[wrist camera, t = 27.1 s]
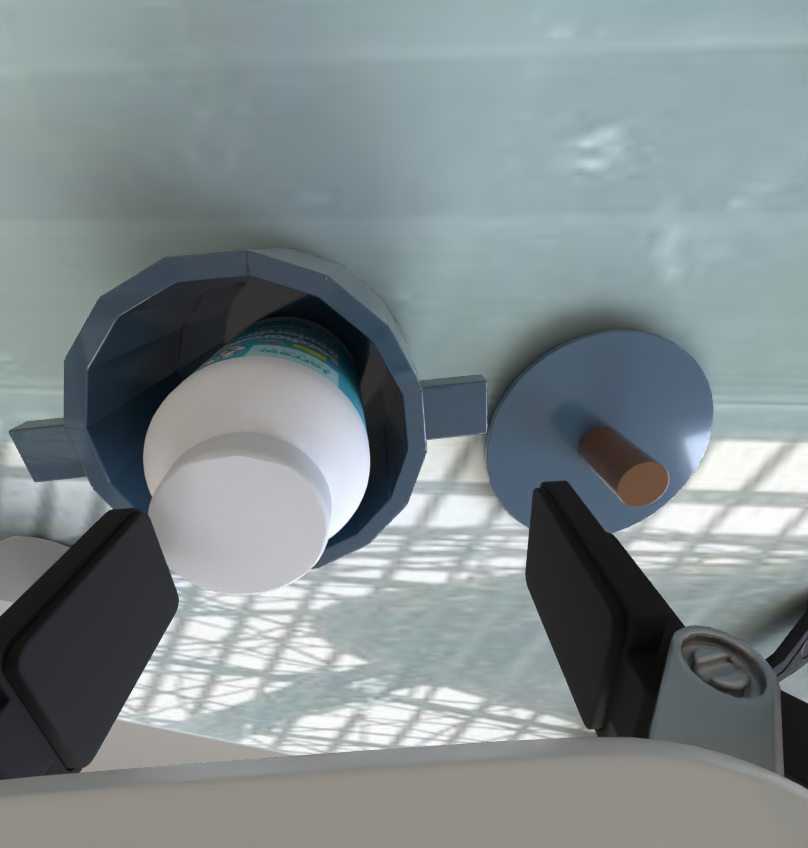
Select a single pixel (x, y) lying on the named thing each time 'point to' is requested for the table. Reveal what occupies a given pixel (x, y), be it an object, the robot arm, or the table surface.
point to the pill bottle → (258, 458)
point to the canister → (203, 337)
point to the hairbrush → (791, 651)
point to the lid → (602, 426)
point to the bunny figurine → (24, 565)
